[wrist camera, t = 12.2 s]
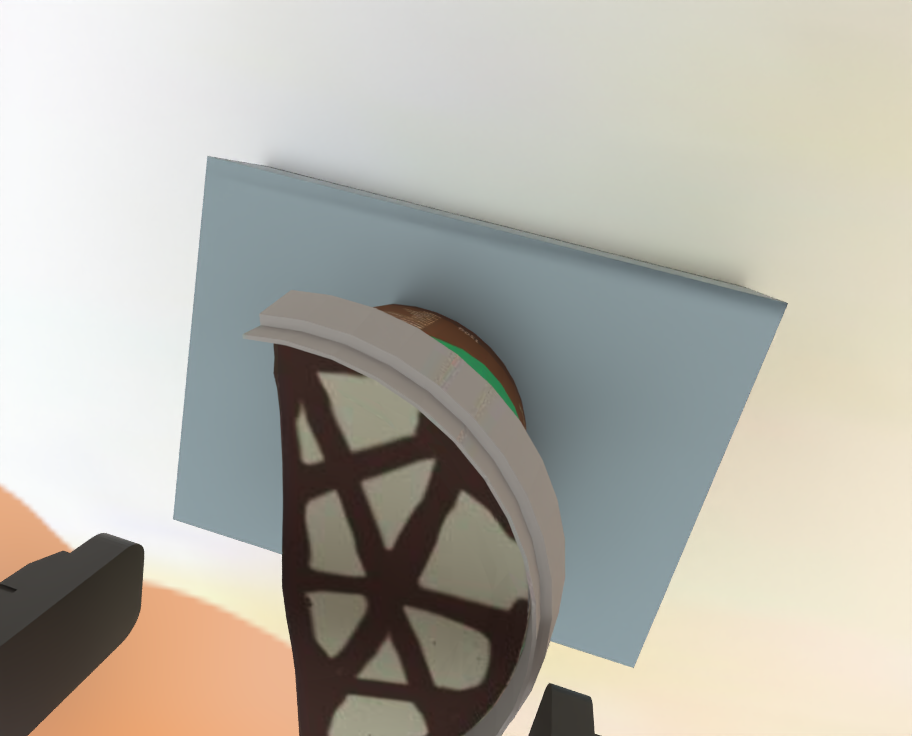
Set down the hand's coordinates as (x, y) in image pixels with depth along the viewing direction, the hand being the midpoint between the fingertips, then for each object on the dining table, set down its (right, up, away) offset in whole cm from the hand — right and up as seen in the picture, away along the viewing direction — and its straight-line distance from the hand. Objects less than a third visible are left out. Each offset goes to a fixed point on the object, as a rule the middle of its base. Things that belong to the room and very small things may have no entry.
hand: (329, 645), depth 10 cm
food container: (+3, +3, +10) cm, 11 cm away
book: (+2, +4, +14) cm, 15 cm away
